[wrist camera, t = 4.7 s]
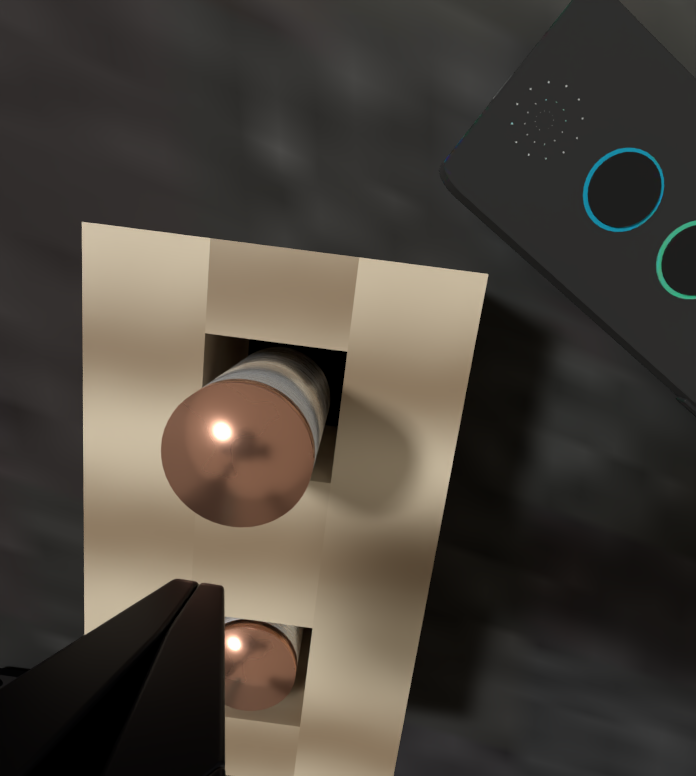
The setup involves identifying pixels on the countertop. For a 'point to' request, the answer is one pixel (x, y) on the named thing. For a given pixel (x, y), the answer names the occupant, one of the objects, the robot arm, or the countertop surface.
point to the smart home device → (597, 180)
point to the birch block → (327, 483)
